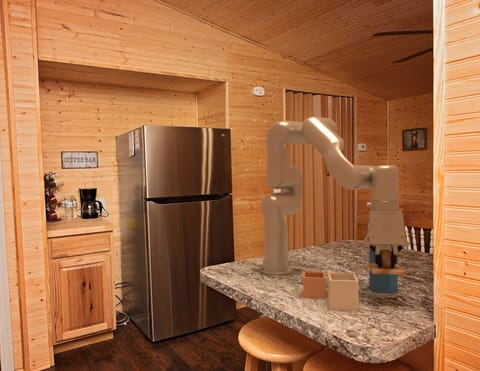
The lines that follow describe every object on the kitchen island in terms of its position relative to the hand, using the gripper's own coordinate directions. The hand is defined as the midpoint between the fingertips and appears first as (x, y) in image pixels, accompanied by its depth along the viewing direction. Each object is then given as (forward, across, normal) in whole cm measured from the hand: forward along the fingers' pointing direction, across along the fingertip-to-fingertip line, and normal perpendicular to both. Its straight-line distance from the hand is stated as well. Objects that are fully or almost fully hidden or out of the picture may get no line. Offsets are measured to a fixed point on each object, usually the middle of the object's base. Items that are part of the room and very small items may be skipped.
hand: (385, 266), depth 111 cm
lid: (+1, 0, 0) cm, 1 cm away
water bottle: (+11, +2, +12) cm, 17 cm away
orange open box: (+11, -21, +3) cm, 24 cm away
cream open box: (+11, -13, -5) cm, 18 cm away
